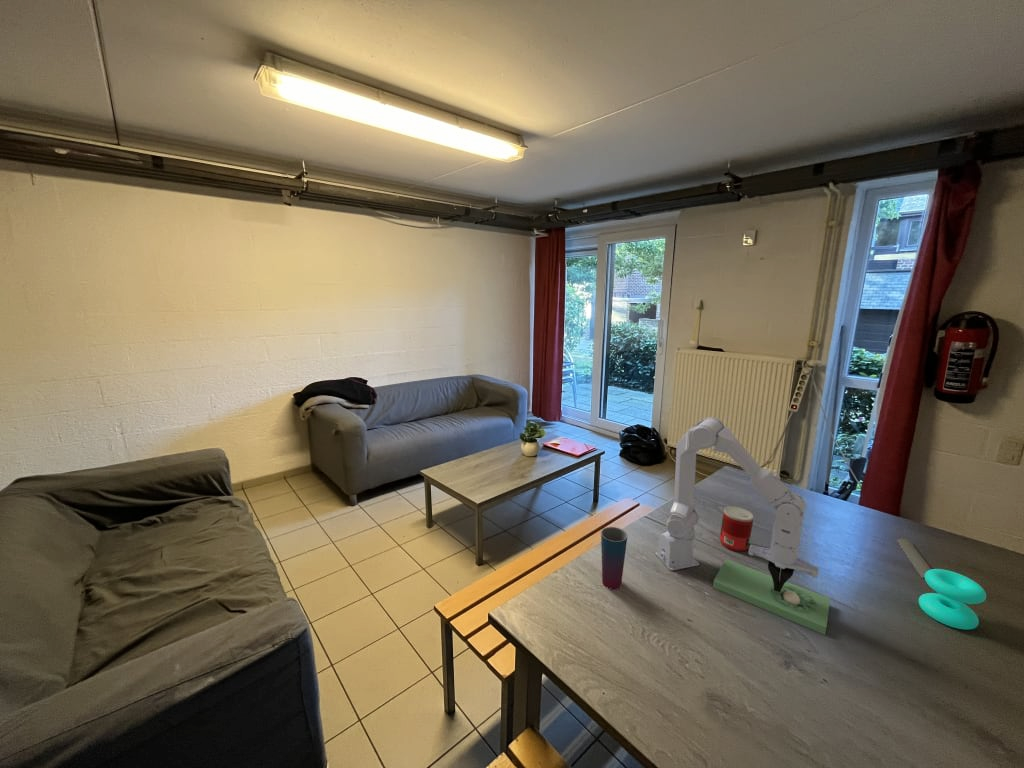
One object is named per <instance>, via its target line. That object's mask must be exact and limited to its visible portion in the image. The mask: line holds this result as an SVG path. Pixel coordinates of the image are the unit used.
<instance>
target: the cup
mask: <svg viewBox="0 0 1024 768" xmlns="http://www.w3.org/2000/svg"><path fill="white" fill-rule="evenodd" d="M600 537H601V538H600V540H601V541H600V542H601V546H600V547H601V582H602V583H601V584H602V585H603V586H604V588H607V587H608V588H607V589H609V588H611V589H610V590H613V589H614V590H618V589H620V588H621V587H620V586H622V580H623V573H624V564H625V560H626V559H625V558H626V550H627V545H628V543H627V542H628V533H627V532H626V531H625V530H624V529H622V528H620V527H616V526H607V527H605V528H603V529H601V531H600ZM617 588H618V589H617Z"/></svg>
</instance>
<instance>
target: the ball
mask: <svg viewBox="0 0 1024 768" xmlns="http://www.w3.org/2000/svg"><path fill="white" fill-rule="evenodd" d="M782 599H783V600H784V601H786V602H787V603H789V604H791V605H793V606H797V607H799V605H800V604H801V603H800V598H799V596H798V595H797V594H796V593H795V592H792V591H786V592H785V593H784V594H783V598H782Z"/></svg>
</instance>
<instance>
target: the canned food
mask: <svg viewBox="0 0 1024 768" xmlns="http://www.w3.org/2000/svg"><path fill="white" fill-rule="evenodd" d="M754 517H755V516H754V515H753V513H752V512H751V511H749V510H746V509H744V508H742V507H738V506H725V508H724V510H723V515H722V520H721V527H720V534H719V541H720V543H721V544H722V546H724V547H725V548H726V549H729V550H730V551H735V552H745V551H747V550H748V549H749V547H750V546H749V545H750V540H751V534H752V529H753V523H754Z"/></svg>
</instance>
